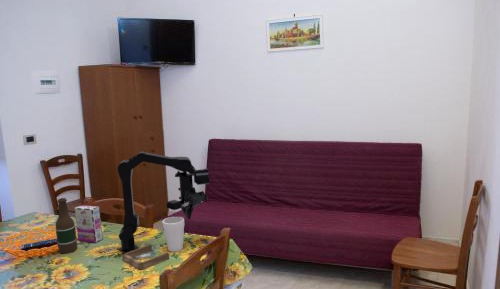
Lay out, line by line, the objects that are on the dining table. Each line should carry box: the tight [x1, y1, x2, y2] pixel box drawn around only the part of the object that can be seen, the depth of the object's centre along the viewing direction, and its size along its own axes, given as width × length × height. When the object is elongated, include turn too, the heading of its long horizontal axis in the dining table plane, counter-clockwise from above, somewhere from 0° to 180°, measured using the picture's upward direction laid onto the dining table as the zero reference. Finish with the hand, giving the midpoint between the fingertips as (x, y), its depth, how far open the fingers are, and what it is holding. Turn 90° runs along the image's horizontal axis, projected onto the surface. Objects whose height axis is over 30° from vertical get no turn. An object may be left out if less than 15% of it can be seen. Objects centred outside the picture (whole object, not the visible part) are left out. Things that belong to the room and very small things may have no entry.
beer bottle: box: [55, 197, 78, 255], centre depth 174 cm, size 8×8×24 cm
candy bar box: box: [74, 204, 104, 244], centre depth 186 cm, size 11×5×16 cm, turn 68°
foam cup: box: [161, 216, 185, 252], centre depth 171 cm, size 10×9×13 cm
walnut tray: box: [121, 243, 170, 271], centre depth 163 cm, size 14×13×2 cm
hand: (188, 219), depth 177 cm, fingers closed
